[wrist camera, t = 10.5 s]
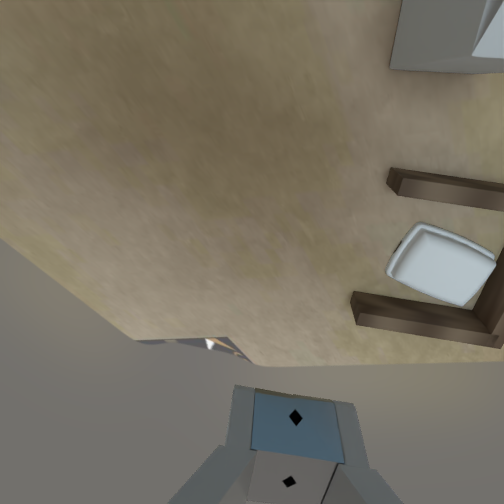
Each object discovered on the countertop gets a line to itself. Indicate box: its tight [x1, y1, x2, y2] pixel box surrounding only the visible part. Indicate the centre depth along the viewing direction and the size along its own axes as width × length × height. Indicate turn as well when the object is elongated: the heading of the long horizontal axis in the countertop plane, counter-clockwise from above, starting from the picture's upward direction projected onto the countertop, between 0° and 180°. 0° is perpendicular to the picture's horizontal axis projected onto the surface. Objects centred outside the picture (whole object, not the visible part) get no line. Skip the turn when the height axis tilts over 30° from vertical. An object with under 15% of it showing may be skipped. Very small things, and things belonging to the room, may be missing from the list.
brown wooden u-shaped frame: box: [350, 167, 504, 349], centre depth 33 cm, size 14×15×4 cm
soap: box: [385, 222, 496, 306], centre depth 35 cm, size 9×7×3 cm
